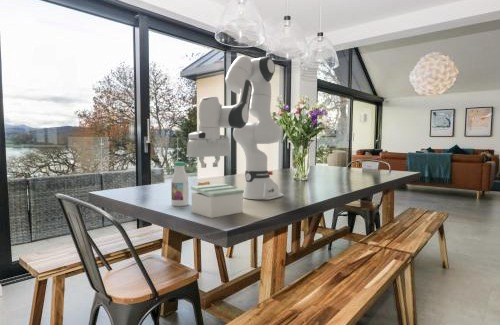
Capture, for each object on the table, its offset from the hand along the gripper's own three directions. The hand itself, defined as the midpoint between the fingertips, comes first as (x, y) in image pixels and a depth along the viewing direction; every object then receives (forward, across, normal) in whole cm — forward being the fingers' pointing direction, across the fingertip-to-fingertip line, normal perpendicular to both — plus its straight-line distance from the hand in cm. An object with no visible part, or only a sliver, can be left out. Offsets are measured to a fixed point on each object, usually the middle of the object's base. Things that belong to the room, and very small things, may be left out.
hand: (209, 167), depth 140 cm
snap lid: (+10, 0, +13) cm, 17 cm away
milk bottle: (+19, +4, -18) cm, 26 cm away
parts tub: (+18, 0, +6) cm, 19 cm away
